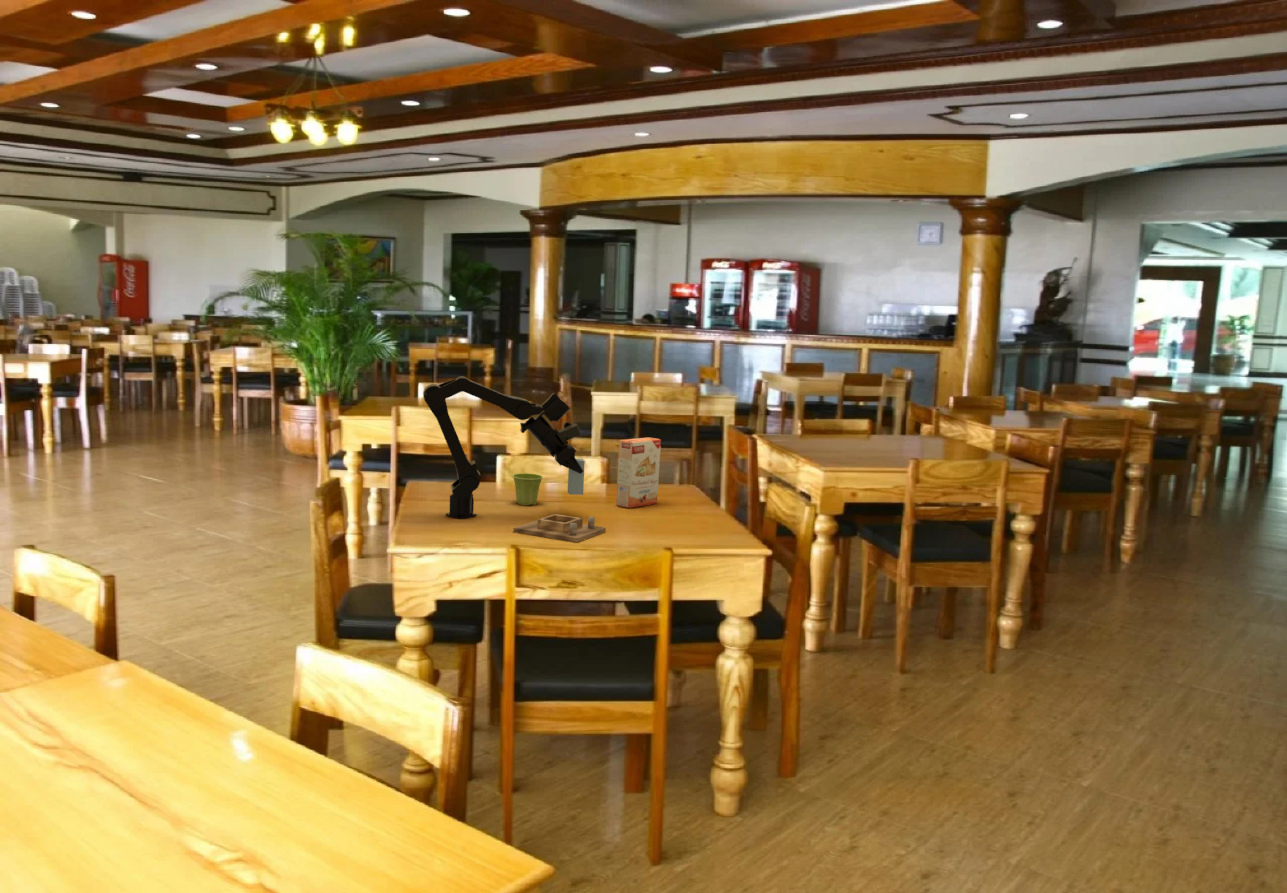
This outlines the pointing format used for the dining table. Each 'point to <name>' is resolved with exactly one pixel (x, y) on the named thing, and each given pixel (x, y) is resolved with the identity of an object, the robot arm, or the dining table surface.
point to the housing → (561, 528)
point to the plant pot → (527, 487)
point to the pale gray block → (576, 480)
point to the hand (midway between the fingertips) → (580, 471)
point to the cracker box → (638, 472)
